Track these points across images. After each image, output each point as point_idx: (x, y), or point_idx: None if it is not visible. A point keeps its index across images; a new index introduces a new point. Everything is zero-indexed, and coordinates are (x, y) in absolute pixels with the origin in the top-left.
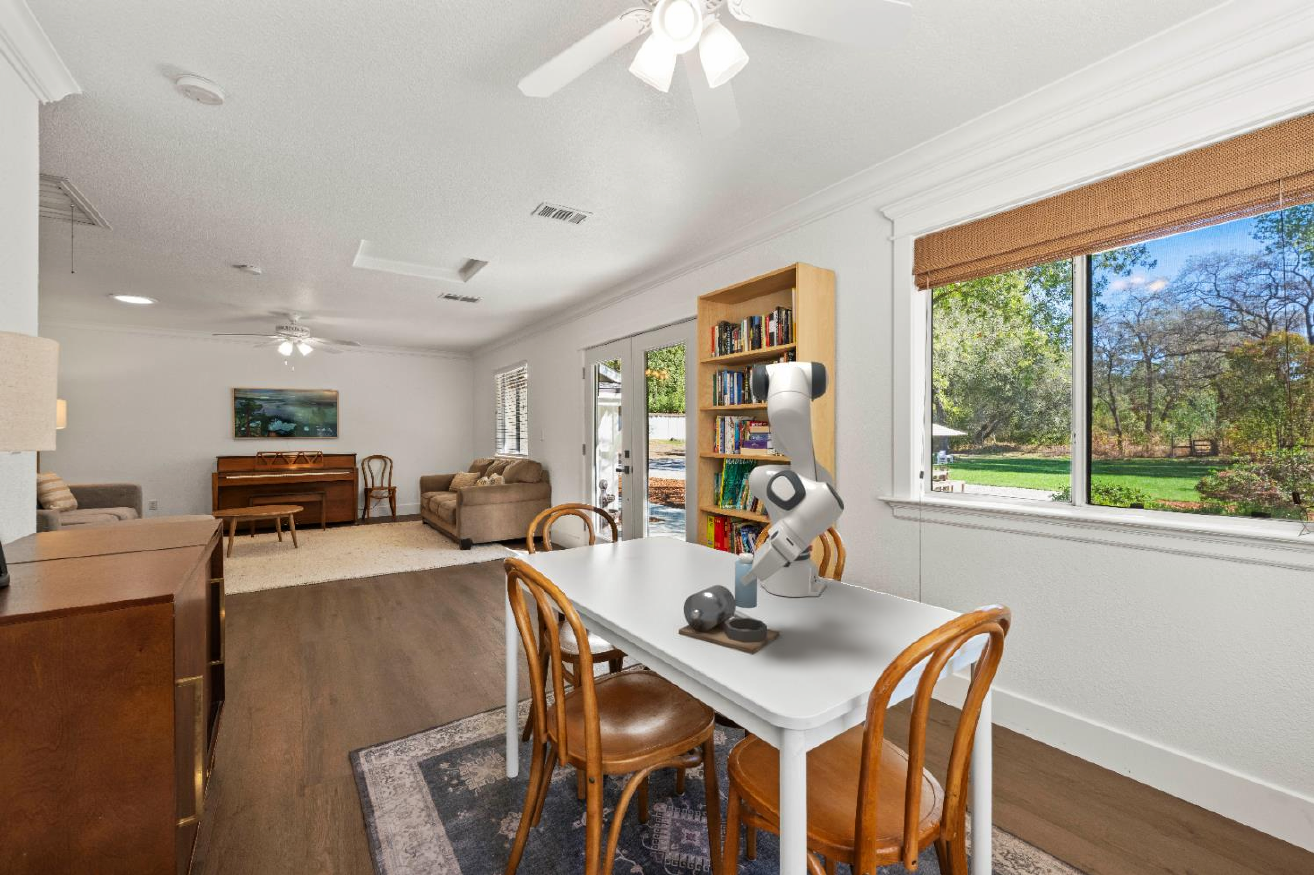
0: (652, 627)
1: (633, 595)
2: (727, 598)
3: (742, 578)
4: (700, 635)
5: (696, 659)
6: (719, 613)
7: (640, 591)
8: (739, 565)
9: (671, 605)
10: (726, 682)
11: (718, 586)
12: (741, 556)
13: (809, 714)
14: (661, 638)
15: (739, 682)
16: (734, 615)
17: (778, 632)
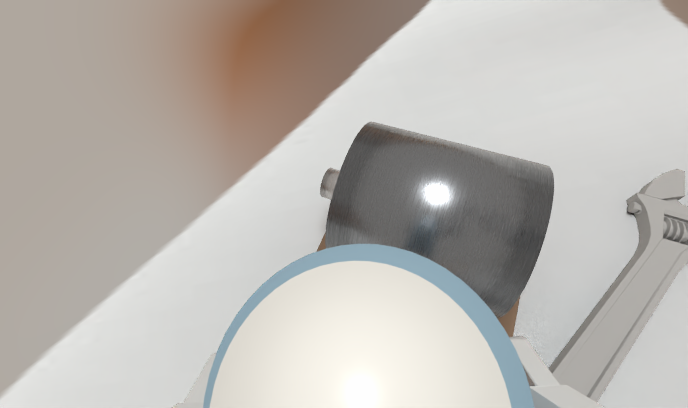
0: (380, 108)
1: (602, 4)
2: (460, 271)
3: (200, 373)
4: (325, 232)
5: (185, 256)
6: None
7: (651, 5)
8: (241, 315)
9: (584, 99)
10: (38, 364)
11: (524, 200)
12: (263, 315)
13: None
14: (311, 145)
15: (32, 405)
16: (598, 308)
17: None
